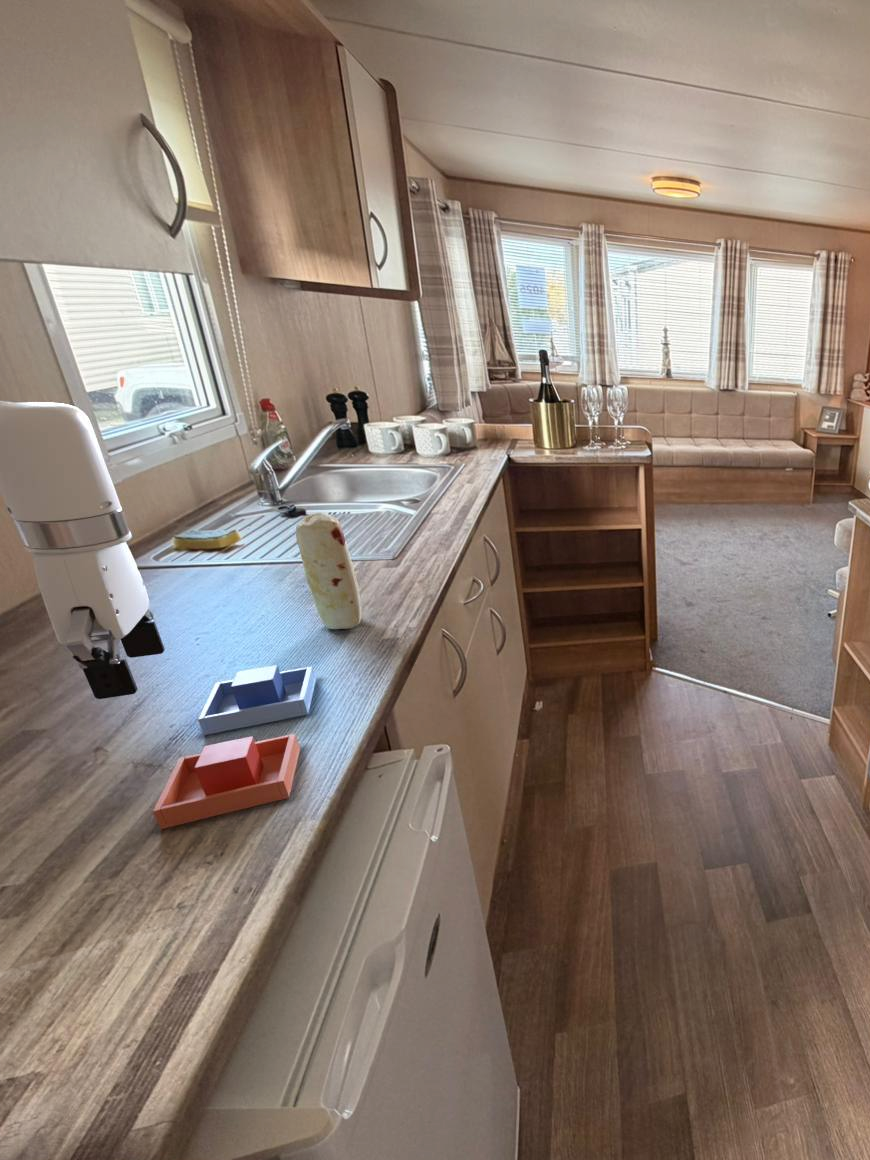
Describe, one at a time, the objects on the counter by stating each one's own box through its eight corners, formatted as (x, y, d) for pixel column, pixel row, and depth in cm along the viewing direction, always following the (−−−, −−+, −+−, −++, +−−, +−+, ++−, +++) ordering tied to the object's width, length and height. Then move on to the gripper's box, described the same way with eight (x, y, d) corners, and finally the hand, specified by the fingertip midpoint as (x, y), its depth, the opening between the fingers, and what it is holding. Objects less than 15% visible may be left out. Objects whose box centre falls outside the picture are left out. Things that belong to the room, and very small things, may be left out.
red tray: (160, 829, 69) (152, 811, 68) (185, 774, 77) (178, 757, 76) (289, 797, 74) (283, 780, 73) (300, 749, 82) (295, 733, 81)
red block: (207, 799, 72) (193, 768, 71) (216, 776, 76) (203, 745, 74) (257, 788, 74) (245, 756, 73) (263, 766, 78) (252, 735, 76)
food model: (376, 625, 114) (349, 518, 106) (332, 637, 109) (301, 526, 101) (355, 609, 120) (329, 506, 112) (313, 620, 115) (283, 513, 107)
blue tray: (203, 735, 84) (197, 719, 83) (221, 697, 92) (215, 682, 91) (308, 714, 89) (303, 699, 88) (316, 680, 97) (311, 666, 96)
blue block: (240, 714, 87) (230, 686, 86) (247, 698, 91) (237, 671, 89) (281, 706, 89) (272, 679, 88) (286, 691, 93) (277, 664, 91)
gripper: (59, 509, 70) (115, 646, 77) (-24, 560, 56) (52, 722, 63) (151, 504, 74) (196, 636, 80) (94, 552, 60) (154, 705, 67)
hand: (133, 673), depth 72 cm, fingers open, 9 cm apart
